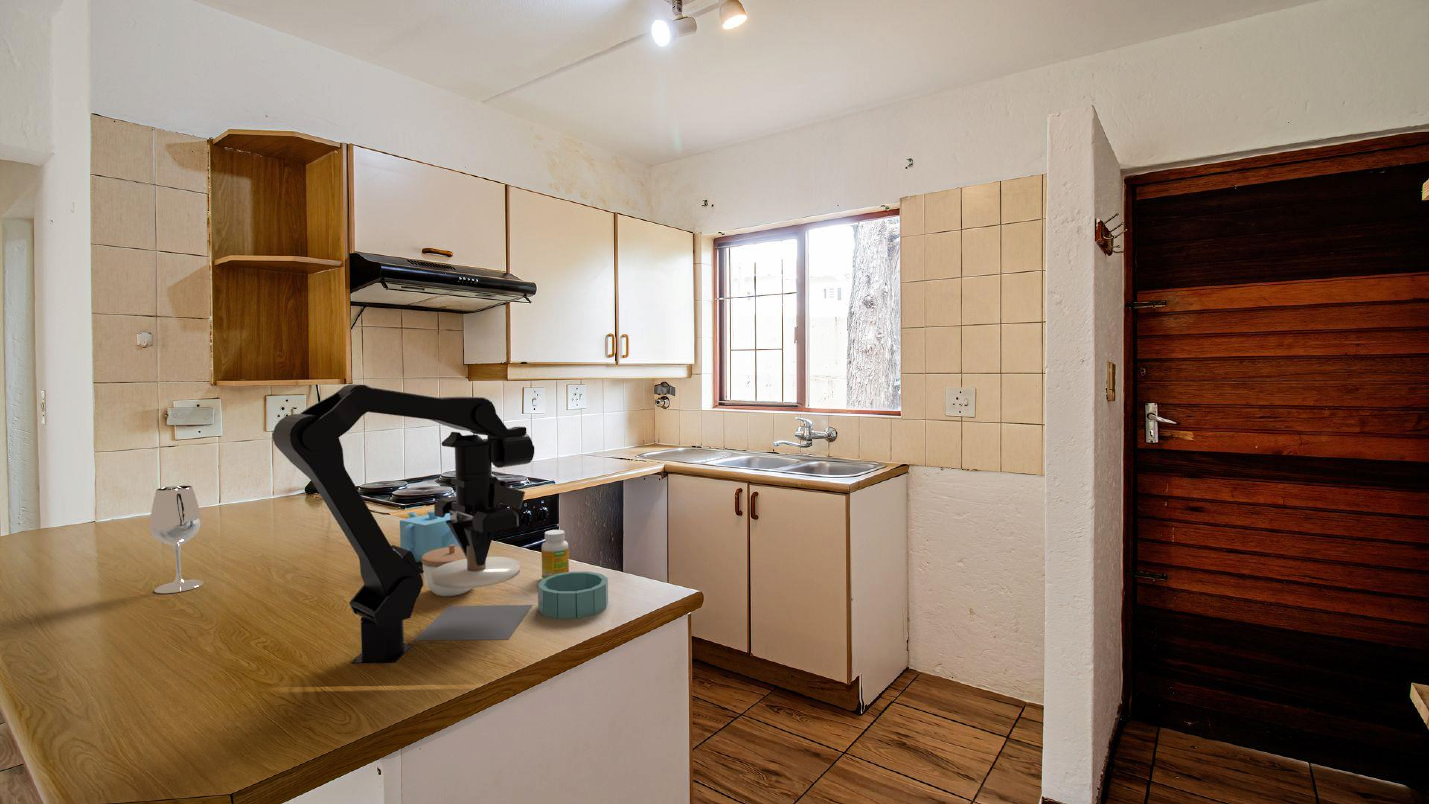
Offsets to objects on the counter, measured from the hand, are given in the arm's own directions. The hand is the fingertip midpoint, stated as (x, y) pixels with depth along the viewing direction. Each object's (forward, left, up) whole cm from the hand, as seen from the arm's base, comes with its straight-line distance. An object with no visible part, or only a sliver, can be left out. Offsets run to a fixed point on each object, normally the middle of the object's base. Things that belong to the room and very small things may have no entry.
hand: (476, 563), depth 111 cm
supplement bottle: (+24, -8, -11) cm, 27 cm away
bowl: (+7, -15, -11) cm, 20 cm away
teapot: (+39, +23, -11) cm, 46 cm away
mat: (0, 0, -11) cm, 11 cm away
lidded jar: (+16, +10, -11) cm, 22 cm away
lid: (0, 0, -2) cm, 2 cm away
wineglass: (+21, +66, -11) cm, 70 cm away
